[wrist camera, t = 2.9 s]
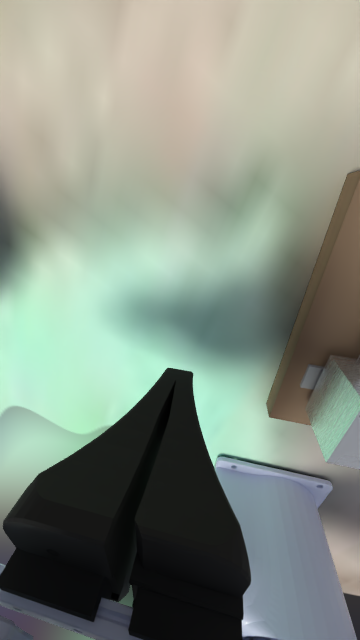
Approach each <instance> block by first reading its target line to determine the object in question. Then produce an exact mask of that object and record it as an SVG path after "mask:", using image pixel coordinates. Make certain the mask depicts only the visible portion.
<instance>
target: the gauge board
mask: <svg viewBox="0 0 360 640" xmlns="http://www.w3.org/2000/svg"><path fill="white" fill-rule="evenodd" d="M359 354H360V171H356V172H353V173H349V174H348V175H347V177H346V180H345V183H344V186H343V189H342V192H341V194H340V197H339V200H338V203H337V206H336V208H335V211H334V214H333V217H332V220H331V223H330V225H329V228H328V231H327V234H326V237H325V239H324V242H323V245H322V248H321V251H320V254H319V256H318V259H317V262H316V265H315V268H314V270H313V273H312V276H311V279H310V282H309V285H308V287H307V290H306V293H305V296H304V299H303V301H302V304H301V307H300V310H299V313H298V316H297V318H296V321H295V324H294V327H293V330H292V332H291V335H290V338H289V341H288V344H287V346H286V349H285V352H284V355H283V358H282V361H281V363H280V366H279V369H278V372H277V375H276V377H275V380H274V383H273V386H272V389H271V392H270V394H269V397H268V400H267V403H266V404H267V409H268V414H269V417H271V418H276V419H281V420H286V421H291V422H296V423H301V424H306V425H311V422H310V420H309V417H308V415H307V412H306V410H305V407H306V405H307V403H308V401H309V399H310V397H311V395H312V393H313V391H314V388H315V386H316V384H317V382H318V380H319V378H320V376H321V374H322V372H323V370H324V368H325V366H326V363H327V361H328V359H329V357H330V355H334V356H341V357H347V358H354V359H357V358H358V356H359ZM311 426H312V425H311Z"/></svg>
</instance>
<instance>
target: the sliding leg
mask: <svg viewBox="0 0 360 640" xmlns="http://www.w3.org/2000/svg"><path fill="white" fill-rule="evenodd" d="M305 410H306V412H307V415H308V417H309V420H310V422H311V425H312V428H313V430H314V433H315V435H316V438H317V440H318V443H319V445H320V448H321V451H322V453H323V456H324V458H325V461H326V462H327V463H332V464H336V465H341V466H346V467H350V468H355V469H360V354H359V356H358V358H357V359H354V358H347V357H341V356H334V355H330V357H329V359H328V361H327V363H326V366H325V368H324V370H323V372H322V374H321V376H320V378H319V380H318V382H317V384H316V386H315V388H314V391H313V393H312V395H311V397H310V399H309V401H308V403H307V405H306V407H305Z"/></svg>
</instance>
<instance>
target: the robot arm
mask: <svg viewBox="0 0 360 640" xmlns="http://www.w3.org/2000/svg"><path fill="white" fill-rule="evenodd" d="M332 489H333V487H332V484H331V482H330V481H328V480H324V479H320V478H315V477H311V476H306V475H302V474H298V473H293V472H289V471H284V470H280V469H275V468H271V467H266V466H262V465H258V464H253V463H249V462H244V461H240V460H235V459H231V458H226V457H218V458H217V461H216V465H215V469H214V466H213V464H212V461H211V459H210V456H209V453H208V451H207V448H206V445H205V442H204V438H203V435H202V432H201V428H200V425H199V421H198V416H197V412H196V407H195V401H194V395H193V373H192V372H190V371H184V370H179V369H173V368H167V369H166V370H165V372H164V373H163V374H162V376H161V377H160V378H159V380H158V381H157V382H156V383H155V385H154V386H153V387H152V388H151V389H150V390H149V391H148V393H147V394H146V395H145V396H144V397H143V398H142V399H141V400H140V401H139V402H138V403H137V404H136V405H135V406H134V407H133V408H132V409H131V410H130V411H129V412H128V413H127V414H126V415H124V416H123V417H122V418H121V419H120V420H119V421H118V422H116V423H115V424H114V425H113V426H111V427H110V428H109V429H108V430H106V431H105V432H104V433H102V434H101V435H100V436H99V437H97V438H96V439H94V440H93V441H91V442H90V443H88V444H87V445H85V446H84V447H83V448H81V449H79V450H78V451H77V452H75V453H74V454H72V455H70V456H69V457H67V458H65V459H64V460H62V461H60V462H59V463H57V464H55V465H53V466H52V467H50V468H49V469H47V470H45V471H43V472H41V473H40V474H39V475H38V476H37V477H36V478H35V479H34V481H33V482H32V483H31V484H30V485H29V486H28V488H27V489H26V490H25V491H24V493H23V494H22V496H21V497H20V499H19V500H18V501H17V503H16V504H15V505H14V507H13V508H12V510H11V511H10V513H9V514H8V515H7V517H6V518H5V520H4V522H3V529H4V531H5V533H6V534H7V536H8V537H9V538H10V540H11V541H12V543H13V544H14V545H15V547H16V550H15V552H14V553H13V555H12V556H11V558H10V560H9V561H8V563H7V565H6V566H5V565H3V564H0V605H1V606H4V607H6V608H9V609H12V610H15V611H18V612H20V613H23V614H26V615H29V616H32V617H35V618H37V619H40V620H43V621H46V622H48V623H51V624H54V625H56V626H60V627H62V628H65V629H68V630H70V631H73V632H76V633H79V634H81V635H84V636H87V637H90V638H93V639H95V640H357V638H356V635H355V632H354V628H353V625H352V622H351V618H350V615H349V612H348V608H347V605H346V602H345V598H344V595H343V592H342V588H341V585H340V582H339V579H338V575H337V572H336V569H335V565H334V562H333V559H332V555H331V552H330V549H329V546H328V542H327V539H326V536H325V532H324V529H323V526H322V522H321V519H320V516H319V512H318V508H319V506H320V505H321V504H322V502H323V501H324V500H325V498H326V497H327V496H328V494H329V493H330V492H331V490H332ZM130 585H132V590H133V597H134V601H133V608H132V607H129V606H126V605H123V604H120V603H117V602H119V601H120V600H121V599H122V598H123V597H125V596H126V594H127V593H128V592H129V588H130ZM111 600H113V601H111ZM114 601H116V602H114ZM0 640H33V636H32V635H30V634H28V633H26V632H25V631H23V630H22V629H20V628H19V627H18V626H16V625H15V624H14V622H13V621H11V620H9V619H7V618H4V617H2V616H0Z"/></svg>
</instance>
